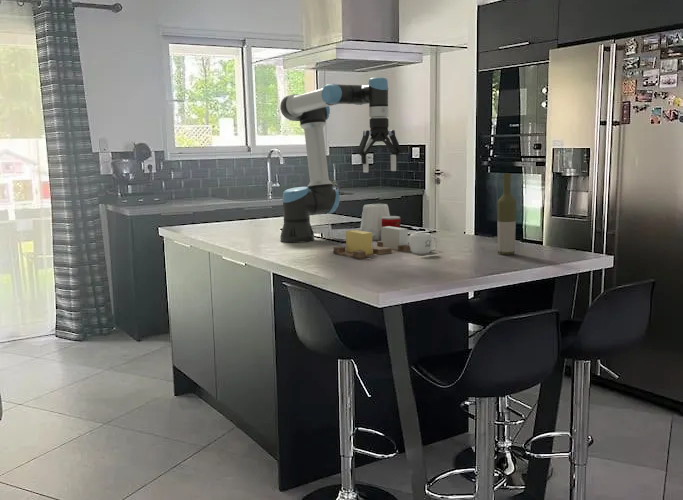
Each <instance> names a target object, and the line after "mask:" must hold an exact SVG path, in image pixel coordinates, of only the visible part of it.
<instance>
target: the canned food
mask: <svg viewBox="0 0 683 500" xmlns="http://www.w3.org/2000/svg"><path fill="white" fill-rule="evenodd" d="M401 224H402V223H401V216H397V215H390V216H384V217H382V227H386V226H392V227H398V228H402V227H401Z"/></svg>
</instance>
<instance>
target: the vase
mask: <svg viewBox="0 0 683 500" xmlns="http://www.w3.org/2000/svg"><path fill="white" fill-rule="evenodd" d="M384 216H391V213H390V209H389V205H388V204H387V203H371V204H369V203H368V204H364V205H363V207H362V213H361V221H360V228H359V231H364V232H370V233H372V241H381V227H382V217H384Z"/></svg>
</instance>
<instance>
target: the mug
mask: <svg viewBox="0 0 683 500" xmlns="http://www.w3.org/2000/svg"><path fill="white" fill-rule="evenodd" d="M408 240H409V241H408V243H409V244H408V245H409V246H410V252H411V254H417V255H418V254H429V253H431V252H432V251H436V249H437V246H438V241H437V239H436V237H435V236H433V235H431V233H429V232H413V233H410V234H409V237H408ZM433 240H434V247H433V248H432V245H433V243H432V241H433Z"/></svg>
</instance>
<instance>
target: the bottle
mask: <svg viewBox="0 0 683 500" xmlns="http://www.w3.org/2000/svg"><path fill="white" fill-rule="evenodd" d="M502 174H503V175H502V178H503V190H502V191H503V193H502V195H501V196H500V197H499V198H498V200H497V203H496V204H497V205H496V216H497V217H496V218H497V219H496V220H497V225H496V227H497V233H496V234H497V254H499V255H501V254H502V255H503V256H511V255H510V254H512V255H514V254H515V251H516V228H517V227H516V225H517V224H516V223H517V200H516V199H515V198H514V196H513V195H512V193H511V181H512V179H511V178H512V174H511V172H510V173H509V172H505V173H502Z"/></svg>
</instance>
